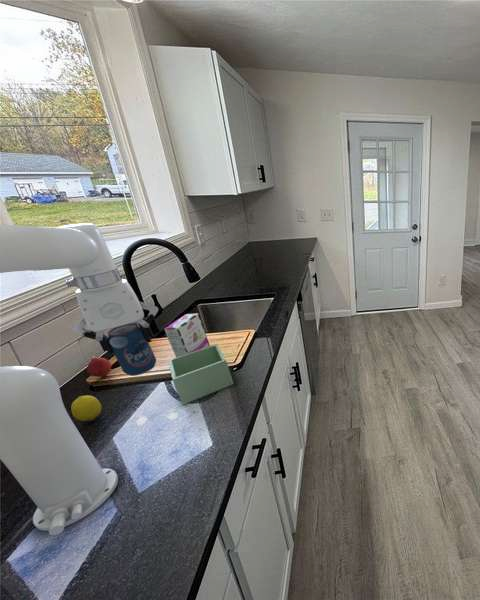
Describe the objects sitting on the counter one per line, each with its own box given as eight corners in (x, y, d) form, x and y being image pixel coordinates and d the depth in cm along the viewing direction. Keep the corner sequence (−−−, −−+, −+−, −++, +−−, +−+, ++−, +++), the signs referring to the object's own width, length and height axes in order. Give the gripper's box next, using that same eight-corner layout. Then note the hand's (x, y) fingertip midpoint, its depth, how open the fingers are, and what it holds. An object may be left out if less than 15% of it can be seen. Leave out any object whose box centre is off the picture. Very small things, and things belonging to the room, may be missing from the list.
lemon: (90, 428, 83) (76, 404, 80) (74, 426, 84) (59, 402, 81) (111, 413, 88) (99, 390, 85) (96, 411, 89) (83, 389, 86)
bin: (233, 384, 97) (225, 360, 94) (182, 404, 90) (172, 379, 86) (224, 365, 107) (216, 343, 104) (177, 383, 100) (168, 359, 96)
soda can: (139, 378, 77) (119, 336, 73) (118, 376, 79) (96, 335, 74) (164, 362, 84) (147, 322, 79) (143, 360, 85) (125, 321, 80)
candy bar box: (200, 353, 116) (185, 313, 110) (213, 352, 116) (199, 312, 110) (180, 371, 106) (162, 328, 100) (194, 370, 106) (178, 327, 99)
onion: (117, 374, 107) (107, 354, 104) (96, 383, 102) (85, 363, 99) (111, 369, 110) (101, 350, 107) (90, 378, 105) (79, 358, 102)
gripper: (42, 295, 64) (83, 367, 71) (146, 273, 74) (173, 338, 81) (48, 286, 69) (86, 353, 76) (145, 267, 79) (170, 328, 86)
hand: (130, 345), depth 78 cm, fingers closed on soda can, 7 cm apart
